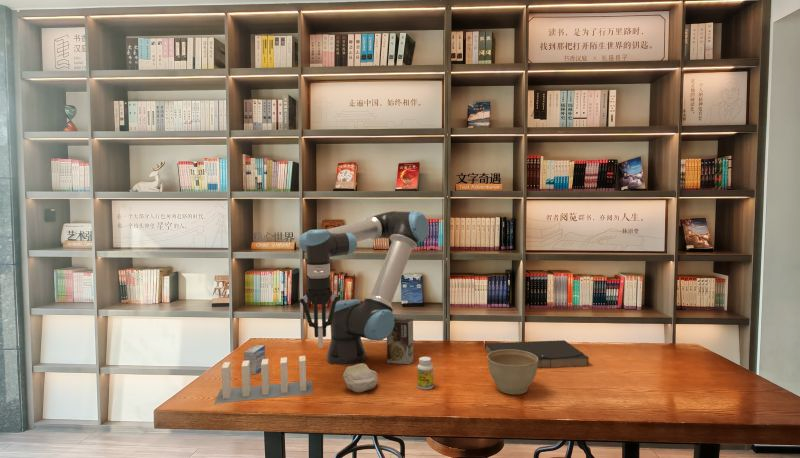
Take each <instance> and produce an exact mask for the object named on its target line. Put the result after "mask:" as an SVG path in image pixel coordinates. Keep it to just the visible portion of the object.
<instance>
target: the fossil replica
mask: <svg viewBox="0 0 800 458" xmlns="http://www.w3.org/2000/svg"><path fill="white" fill-rule="evenodd" d="M342 375H343V380H344V382H345V384H346V386H347V388H348V389H349V390H351V391H352V392H356V393H363V392H365V391H369V390H373V389H375V387H376V385H378V382H379V381H378V373H377V371H375V370H372V369H370V368H369V366H368V365H367V364H366V363H365V362H364V363H362V362H360V363H355V364H352V365H348V366H347V367H346V368H345V370H344V372H343V373H342Z"/></svg>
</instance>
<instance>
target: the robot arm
mask: <svg viewBox="0 0 800 458" xmlns="http://www.w3.org/2000/svg"><path fill="white" fill-rule="evenodd" d="M428 223H429V222H428V218H427V217H426V215H425V214H424V213H422V212H420V211H415V210H414V211H412V210H411V211H395V210H394V211H388V212H383V213H380V214H376V215H371V216H369V217H367V218H366V219H365V220H362V221H361V220H360V221H357V222H353V223H348V224H345V225H340V226H336V227H331V228H327V229H322V228H321V229H309V230H307V231H306V232H303V233H302V234H301V235H300V237H299V241H298V242H299V243H298V245H299V248H300V250H301V251H303V252H305V253H306V274H307V276H308V277H307V291H306V293H305V295H304V296H303V297H302V296H301V297H300V298H299V302H300V303H301V305H302V306H303V310H304V314H305V318H306V321H307V323H308V326H309V328H313V330H314V337H315V338H317V342H318V344H317V346H318V349H320V348H321V349H322V348H324V338H326V337H327V327H329V326H330V337H331V338H330V342H329V347H328V350H327V352H326V353H327V354H326V359H327V362H328V363H329V364H333V365H356V364H361V363H362V362H363V361H365V360H366V358H367V357H366V356H367V355H366V350H365V349H366V348H365V346H364V343H363V341H362V338H363V339H367V340H370V341H380V342H381V341H383V340H386V339H387V337H388V336H389V335H390V334H391V332H392V330H393V328H394V324H395V321H394V319H395V314H394V313H393V311H394V308H393V306H392V302H393V301H394V297H395V295H396V292H397V290H398V287H399V285H400V282H401V279H402V277H403V274H404V272H405V268H406V267H407V263H408V261H409V258H410V255H411V253H412V251H413V250H415V249H417V248H418V245H419V242H423V241H425V240H426V239H427V237H428V236H429V231H430V230H429V224H428ZM368 239H371V240H378V239H389V240H390V242H391V243H390V245H389V249H388V251H387V254H386V256H385V258H384V261H383V263H382V266H381V269H380V270H379V273H378V276H377V278H376V281H375V283H374V285H373V289H372V291H371V293H370V296H368V297H364V300H363V303H362V305H361V301H360V299H355V298H351V299H343V300H339V298H340V297H339V296H338V295H337V294H334V293H333V291H332V287H331V285H332V284H331V276H330V275H331V257H338V256H339V257H340V256H347V255H350V254H353V253H355V251H356V249H357V247H358V242H361V241H366V240H368ZM329 300H330V301H331V303H330V309H329V313H328V318H327V314H326V313H327V312H326V310H327V308H326V305H327V303H328V302H329ZM308 301H310V303H311V304H312V305H313V321H312V317H311V314H310V310H309V305H308ZM319 305H320V306H321V325H319V309H318V307H319Z"/></svg>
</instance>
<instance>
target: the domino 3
mask: <svg viewBox="0 0 800 458" xmlns="http://www.w3.org/2000/svg"><path fill="white" fill-rule="evenodd" d="M269 360H270V359H269V358H266V359H262V363H261V371H260V373H261V386H262V395H267V394H269V389H270V386H269V385H270V363H269Z"/></svg>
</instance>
